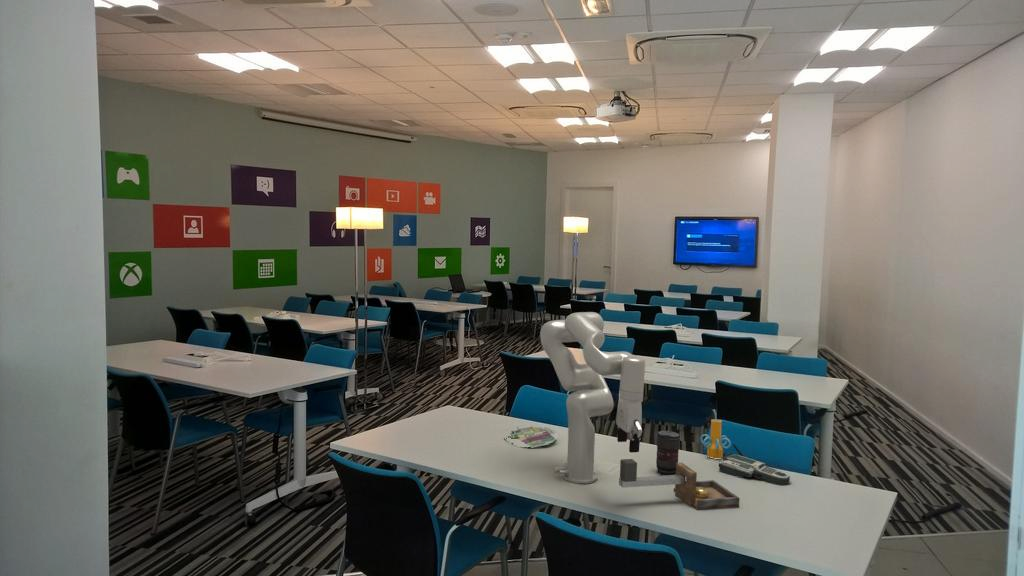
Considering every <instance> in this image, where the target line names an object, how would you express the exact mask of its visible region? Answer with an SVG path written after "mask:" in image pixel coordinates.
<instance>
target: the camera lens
mask: <svg viewBox="0 0 1024 576" xmlns="http://www.w3.org/2000/svg"><path fill="white" fill-rule="evenodd" d="M680 441H681V440H680V434H679V433H677V432H674V431H671V430H670V431H669V430H661V431H660V430H659V431H658V432H657V439H656V459H655V460H656V462H655V463H656V464H655V465H656V469H657V473H658V474H659V475H660V476H666V475H676V463H679V450H680Z"/></svg>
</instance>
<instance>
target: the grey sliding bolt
mask: <svg viewBox="0 0 1024 576" xmlns="http://www.w3.org/2000/svg"><path fill="white" fill-rule="evenodd" d="M619 465H620V468H619V469H620V470H619V478H618V485H619V486H620V487H621V488H623V489H624V488H637V487H650V486H651V487H653V486H656V487H657V486H669V485H670V486H672V485H674V486H675V484H685V481H686V480H685V477H684V476H682V475H676V474H675V475H666V476H665V475H652V476H650V475H647V476H637V475H638V463H637V462H636V461H635V460H634V459H633V458H624V459H623V458H621V459H620V464H619Z"/></svg>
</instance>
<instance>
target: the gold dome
mask: <svg viewBox="0 0 1024 576" xmlns="http://www.w3.org/2000/svg"><path fill="white" fill-rule="evenodd" d="M696 497H697V498H701V499H706V498H708V489H707V488H704V487H696Z"/></svg>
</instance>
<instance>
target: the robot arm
mask: <svg viewBox="0 0 1024 576" xmlns="http://www.w3.org/2000/svg"><path fill="white" fill-rule="evenodd" d="M604 326H605V323H604V319H603V317H602V316H601V315H600V314H599V313H598V312H594V311H585V312H584V311H581V312H580V311H579V312H573V313H571V314H569V315H567V316H566V318H565V319H557V320H556V319H555V320H554V319H553V320H549V321H546V323H544V324H542V326H541V329H540V342H541V346H542V349H543V350H544V352H545V354H546V355H547V357H548V358H549V359H550V362H551V364H552V365H553V368H554V371H555V373H556V375H557V378H558V380H559V382H560V385H561V387H562V388H563V389H564V390H565V391H567V392H571V393H570V394H569V395H568V396H567V398H566V402H565V403H566V412H567V423H568V425H567V427H568V429H567V430H568V431H567V432H568V433H567V434H568V435H567V458H566V459H567V460H566V461H567V462H566V463H564V465H563V466H554V468H553V472H554V473H555V474H556V473H558V474H559V475H562V478H563V480H565V481H567V482H569V483H574V484H584V485H585V484H592V483H594V482H597V481H598V478H599V476H598V474H597V473H596V472H595V470H594V469H595V468H594V467H595V444H596V443H595V441H596V437H595V436H596V430H595V426H594V424H593V422H592V421H591V418H593V417H599V416H605V415H608V414H610V413H611V412H612V411H613V409H614V403H615V402H614V399H613V395H612V392H611V391H610V387H608V384H607V382H606V380H605V378H604V376H605V377H606V376H617V375H618V376H620V377H619V379H620V380H619V381H620V382H619V391H618V392H619V393H618V403H617V410H616V419H615V424H616V425H617V439H616V441H617V442H618V443H626V442H627V441H628V433H629V437H630V439H629V445H628V446H629V448H628V451H629V453H639V452H640V446H641V445H640V442H641V438H642V434H643V429H642V423H643V421H642V419H643V417H642V415H643V412H642V411H643V410H642V403H643V401H644V387H645V386H644V385H645V374H646V361H645V359H644V358H643V357H642V356H641V357H640V356H636V355H634V354H632V353H630V352H629V351H621V350H620V351H609V352H608V351H606V352H602V351H601V350H600V349H601V347H602V346H603V344H604V342H605V340H606V338H605V336H606V335H605V334H604ZM573 342H575V343H576V342H577V343H578V344H580V345H581V346H582V348H583V349H582V355H583V359H584V361H585V364H580V363H579V362H578V361H577V360H576V357H575V355H574V354H573V352H572V351H571V350H570V349H569V348H568V347H567V346H566V345H564V344H563V343H573Z"/></svg>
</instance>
